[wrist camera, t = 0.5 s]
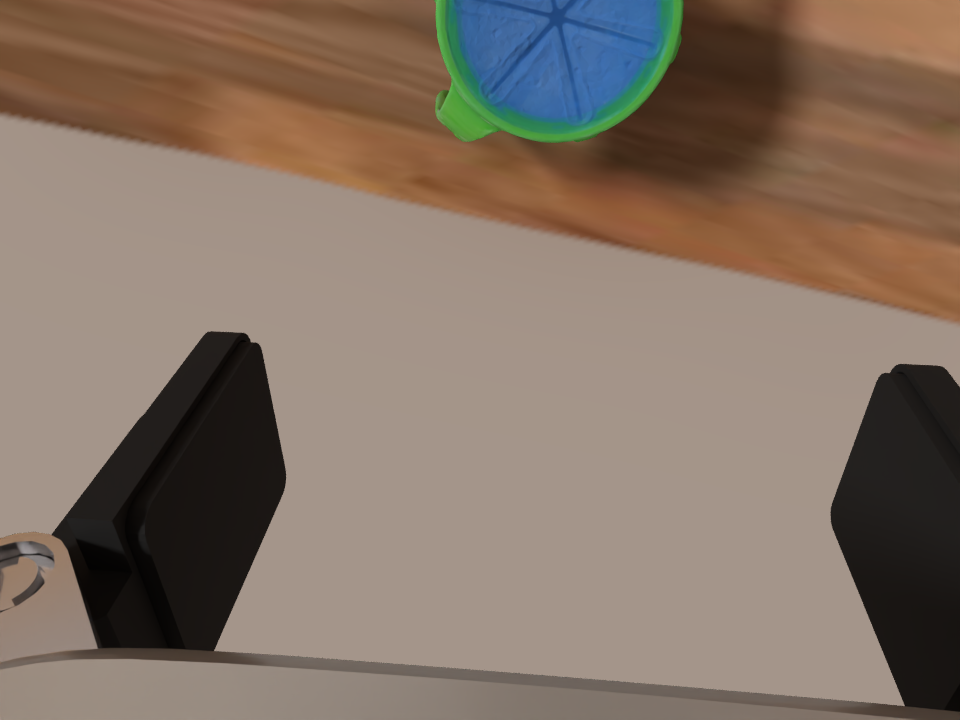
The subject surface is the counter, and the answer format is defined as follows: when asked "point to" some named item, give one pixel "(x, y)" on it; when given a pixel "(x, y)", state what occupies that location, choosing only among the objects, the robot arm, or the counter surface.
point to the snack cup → (551, 64)
